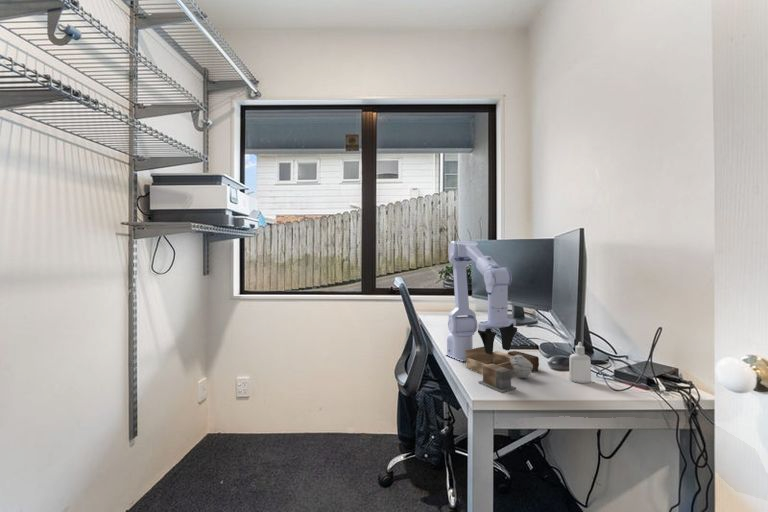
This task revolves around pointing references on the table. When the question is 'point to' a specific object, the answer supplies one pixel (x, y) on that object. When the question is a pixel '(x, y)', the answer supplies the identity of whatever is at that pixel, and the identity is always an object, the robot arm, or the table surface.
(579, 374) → the eye dropper bottle
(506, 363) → the carton
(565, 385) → the table surface
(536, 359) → the brick
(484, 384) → the mat
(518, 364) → the grey faceted rock
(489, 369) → the box
